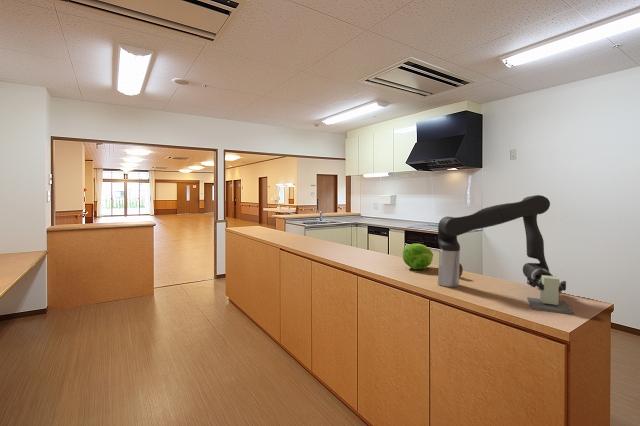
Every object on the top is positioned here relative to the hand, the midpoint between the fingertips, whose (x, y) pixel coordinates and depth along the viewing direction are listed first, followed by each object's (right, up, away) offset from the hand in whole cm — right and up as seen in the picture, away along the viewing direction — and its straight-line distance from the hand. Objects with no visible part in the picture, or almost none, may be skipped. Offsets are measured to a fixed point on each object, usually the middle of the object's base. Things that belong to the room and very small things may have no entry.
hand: (551, 288), depth 126 cm
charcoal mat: (+1, -8, +3) cm, 8 cm away
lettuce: (-31, -4, +68) cm, 75 cm away
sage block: (+1, -6, +3) cm, 7 cm away
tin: (-18, -5, +51) cm, 55 cm away
